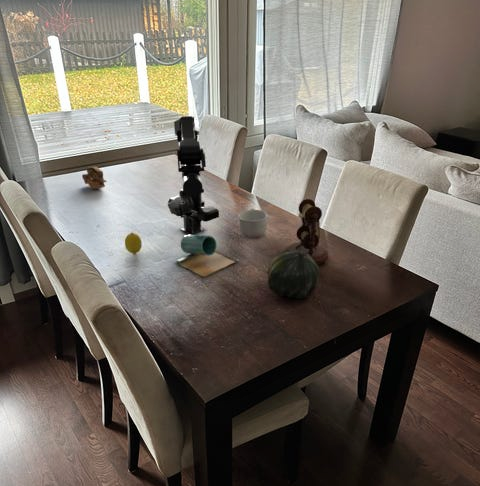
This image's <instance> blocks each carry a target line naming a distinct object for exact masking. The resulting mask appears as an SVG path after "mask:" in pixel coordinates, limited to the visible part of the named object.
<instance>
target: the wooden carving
mask: <svg viewBox="0 0 480 486" xmlns="http://www.w3.org/2000/svg"><path fill="white" fill-rule="evenodd" d="M81 177H82V180H83V182H84V184H85V185H88V186H89V187H90V188H92V189H94V190H96V189H97V190H99V189H103V188H105V187H106V185H105V183H107V180H106V179H105V178H104V171H103V170H101V169H100V168H99V167H98V166H88V167H87V168H86V173H85V174H82V175H81Z"/></svg>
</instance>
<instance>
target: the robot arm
mask: <svg viewBox="0 0 480 486" xmlns="http://www.w3.org/2000/svg"><path fill="white" fill-rule="evenodd" d="M173 127H174V136H176V139H177V143H178V148H177V149H176V155H177V156H176V157H177V170H178V171H177V172H178V173H181V184H182V185H181V186H182V189H181V188H180V189H179V193H178V194H179V195H176V196H173V197H170V198H169V199H168V201H167V207H168V209H169V212H170V214H171V215H174V216H176V217H180V218H181V219H182V218H183V219H182V220H183V227H182V228H180V230H181V231H182V232H184V233H187V234H188V235H189V234H190V235H196V234H197V233H200V232H202V231H205V229H204V227H202V222H205V223H207V222H210V221H212V220H214V219H215V220H216V219H218V218H220V210H219V209H218V208H216V207H213V206H211V205H208V206H205V205H206V204H205V202H206V201H204V200H202V199H203V197H202V194H203V193H205V188H204V186H203V181H202V177H201V176H202V175H201V172H205V168H206V167H207V165H206V164H207V163H206V152H205V151H204V149H203V148H201V144H200V141H199V140H198V136H200V122H199V120H197V119H195V116H192V115H181V116H178V119H176V120H175V121H173Z"/></svg>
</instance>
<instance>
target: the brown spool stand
mask: <svg viewBox="0 0 480 486" xmlns="http://www.w3.org/2000/svg"><path fill="white" fill-rule="evenodd" d="M298 211H299V213H300V215H301V217H300V220H301V223H302V224H301V226H300V227H298V229H297V230H296V237H297V239H298V240H299V241H297V242H293V243H291V244H288V245H286V246H285V248H284V250H283V254H284V253H286V252H291V251H303V252H305V253H307V254H309V255H310V256H311V257H312V259H313V260H314V261H315V263H316V264H317V265H319V264H322V265H325V263H326V261H327V260H328V258H329V252H328V250H327V248H326V247H324V246H322V245H320V244H319V243H320V239H321V238H320V236H321V235H320V234H321V226H320V225H321V223H320V220H321V219H322V216H323V210H322V209H321V208H320V207H319V206H317V205H316V202H315V201H314V200H313V199H311V198H304V199H303V200H302V201H301V202H300V203H299V204H298Z"/></svg>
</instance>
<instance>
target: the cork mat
mask: <svg viewBox="0 0 480 486" xmlns="http://www.w3.org/2000/svg"><path fill="white" fill-rule="evenodd" d="M235 263H236V261H234V260H233V259H230V258H228V257H226V256H223V255H222V254H220V253H217V252H216V251H215V252H214V254H213V255H210V256H205V255H197V254H188V255H185V256H183V257H181V258H179V259H177V260H176V264H177V265H178V266H181V267H182V268H185V269H187V270H189V271H191V272H192V273H194V274H196V275H198V276H200V277H202V278H206V277H207V276H210V275H212V274H214V273H217V272H218V271H220V270H222V269H224V268H227V267H229V266H231V265H233V264H235Z"/></svg>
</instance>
